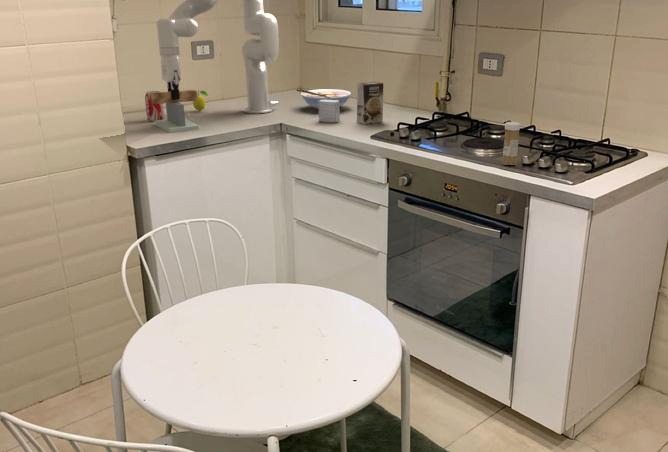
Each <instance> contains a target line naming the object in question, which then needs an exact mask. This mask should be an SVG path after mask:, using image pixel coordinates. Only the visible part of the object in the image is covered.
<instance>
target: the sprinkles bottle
mask: <svg viewBox="0 0 668 452" xmlns="http://www.w3.org/2000/svg"><path fill="white" fill-rule="evenodd" d="M520 130H521V123H520V122H518V121H507V122H505V124H504V141H503V149H502V150H503V151H502V162H503V163H505V164H516V165H517V158H518V148H519V136H520ZM502 162H501V163H502Z"/></svg>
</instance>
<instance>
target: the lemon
mask: <svg viewBox="0 0 668 452" xmlns="http://www.w3.org/2000/svg"><path fill="white" fill-rule="evenodd" d="M202 95H203V96H205V97H207V96H209V95H208V92H206V91H205V90H200V91H199V90H197V101H192V105H193V108H194V109H195V110H197V111H198V112H201V111H203V110H204V109H205V108H206V105H207V104H206V99H205V97H203V96H202Z"/></svg>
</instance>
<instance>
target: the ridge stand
mask: <svg viewBox="0 0 668 452" xmlns="http://www.w3.org/2000/svg"><path fill="white" fill-rule="evenodd" d="M165 108H166V116H167V117H166V118H167V119H162V120H158V121H154V125H155V126H157V127H159V128H160V129H162V130H164V131H165V132H168V133H169V134H172V133H181V132H188V131H196V130H197V131H198V130H200V125H199V124H196V123H195V122H192V121H190V120H188V119H187V118H186V117H185V105H184V104H183V103H182V102H175V103H165Z"/></svg>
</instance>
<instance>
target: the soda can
mask: <svg viewBox="0 0 668 452" xmlns="http://www.w3.org/2000/svg"><path fill="white" fill-rule="evenodd" d="M155 92H161V91H159V90H149V91H146V92H145V96H144V103H145V110H146V111H145V112H146V118H147V120H148V121H150V122H155V121H158V120H164V117H165V114H164V113H165V112H164V103H161V104H153V103H151V93H155Z"/></svg>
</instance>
